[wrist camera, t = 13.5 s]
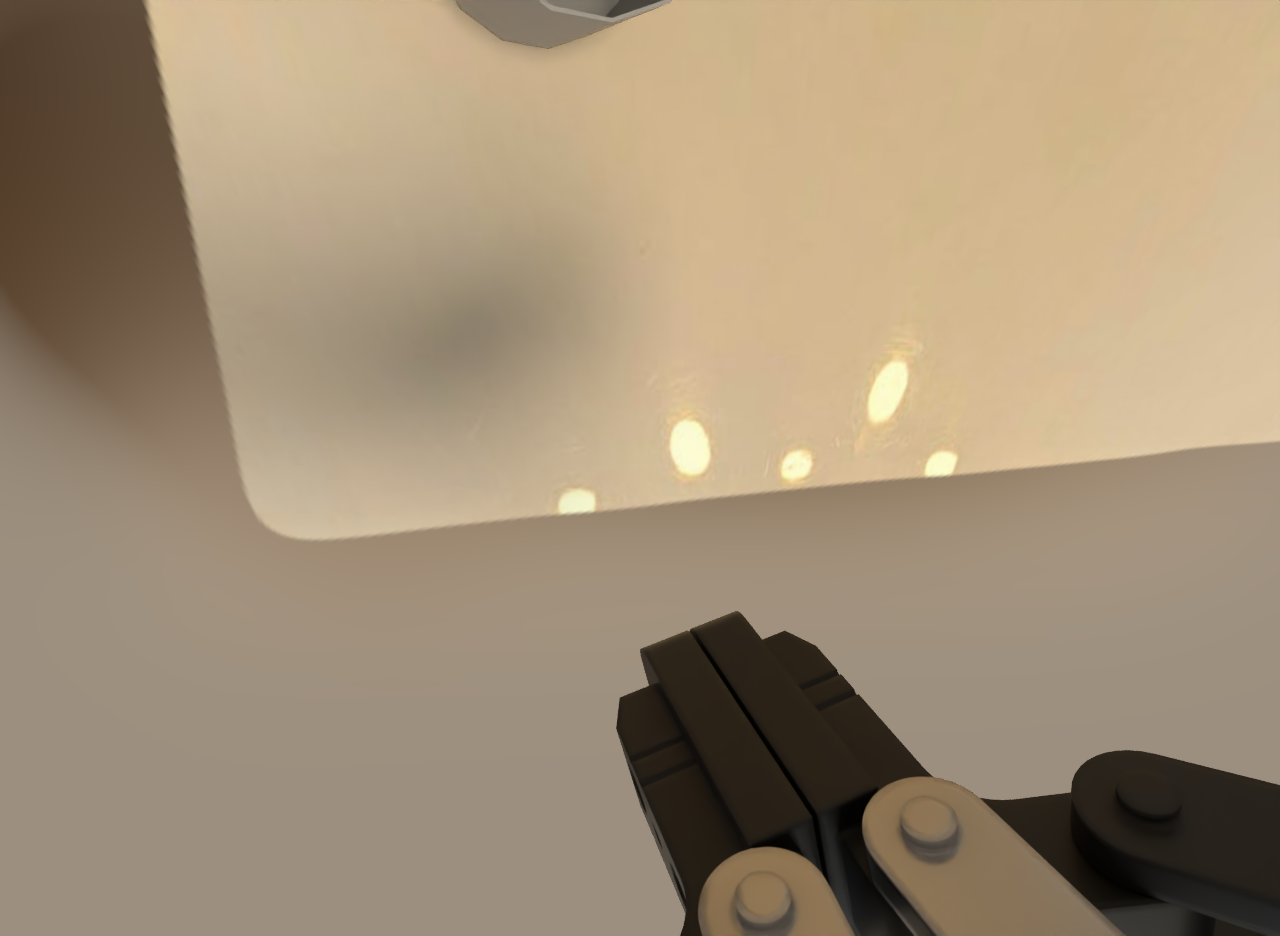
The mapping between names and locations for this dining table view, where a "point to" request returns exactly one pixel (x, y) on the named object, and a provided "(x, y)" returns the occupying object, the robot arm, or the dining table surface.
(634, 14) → the cup
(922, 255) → the dining table surface
